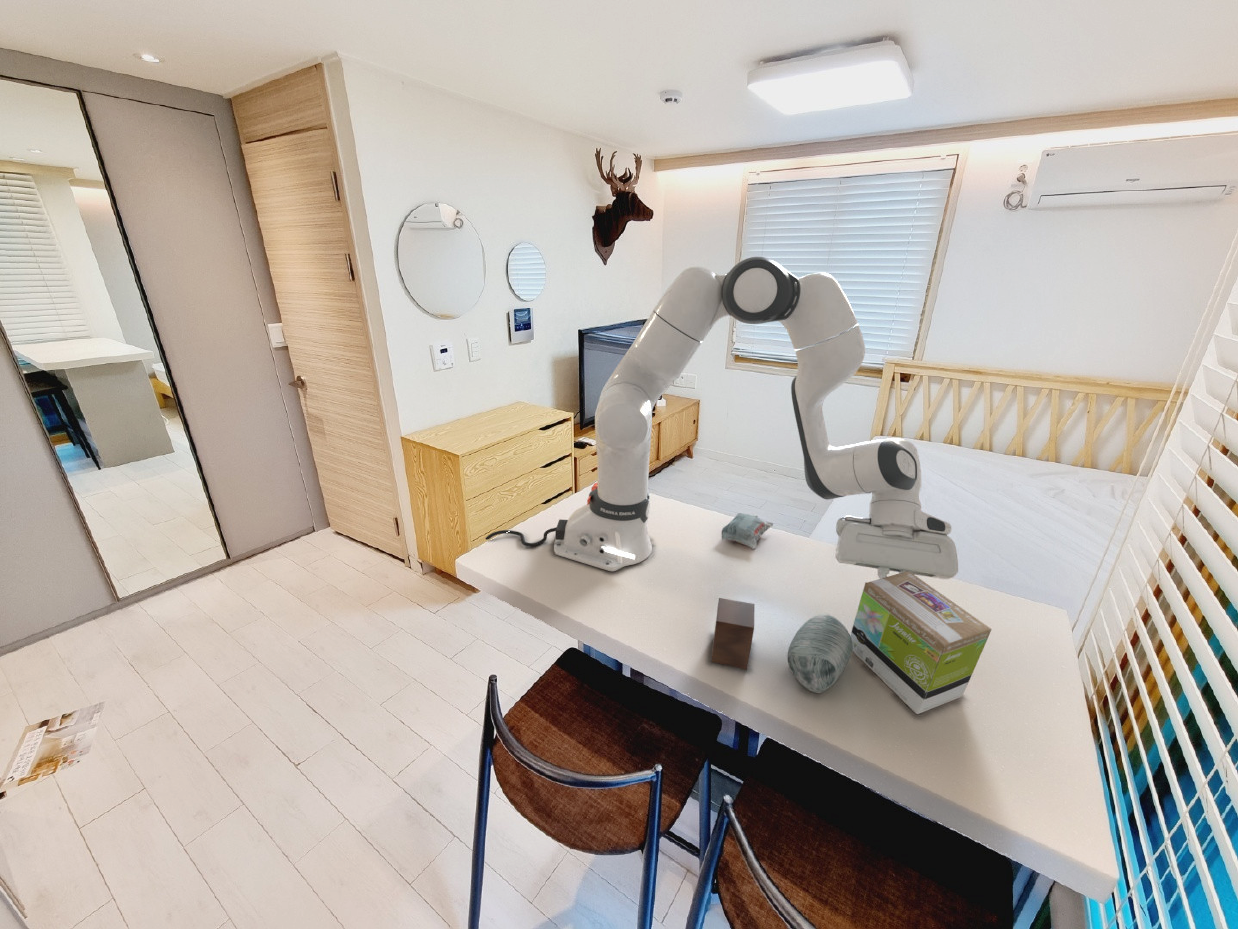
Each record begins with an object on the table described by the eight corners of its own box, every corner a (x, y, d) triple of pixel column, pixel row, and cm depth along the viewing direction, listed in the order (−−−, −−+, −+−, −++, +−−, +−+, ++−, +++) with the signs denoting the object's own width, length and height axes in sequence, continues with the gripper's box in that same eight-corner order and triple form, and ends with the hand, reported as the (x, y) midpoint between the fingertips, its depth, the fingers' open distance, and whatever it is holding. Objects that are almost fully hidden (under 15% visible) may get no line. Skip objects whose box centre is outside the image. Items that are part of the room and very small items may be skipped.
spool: (841, 703, 74) (828, 635, 75) (781, 694, 81) (769, 632, 81) (869, 670, 84) (857, 610, 85) (813, 664, 91) (803, 609, 91)
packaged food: (771, 533, 123) (774, 515, 120) (753, 556, 114) (756, 537, 112) (737, 522, 127) (739, 505, 125) (718, 543, 118) (719, 525, 116)
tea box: (844, 648, 89) (863, 580, 83) (887, 634, 92) (908, 567, 86) (917, 718, 76) (945, 644, 70) (964, 699, 79) (995, 626, 73)
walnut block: (711, 662, 85) (716, 621, 81) (713, 637, 90) (718, 597, 87) (747, 669, 84) (754, 628, 80) (747, 644, 89) (754, 603, 85)
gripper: (840, 509, 95) (837, 582, 91) (961, 525, 91) (963, 603, 86) (833, 518, 101) (829, 587, 96) (945, 534, 97) (947, 607, 92)
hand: (893, 595), depth 91 cm, fingers closed
